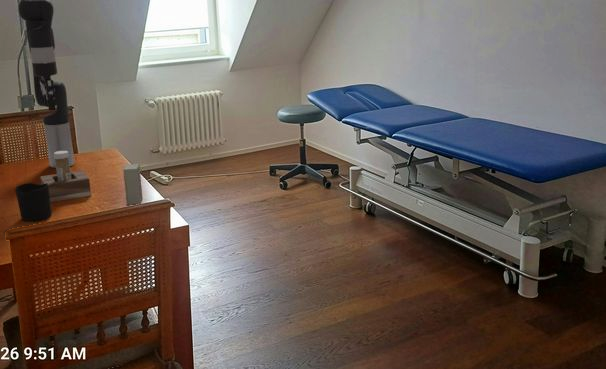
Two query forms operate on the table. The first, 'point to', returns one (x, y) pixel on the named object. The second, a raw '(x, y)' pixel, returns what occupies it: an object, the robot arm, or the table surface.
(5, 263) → the table surface
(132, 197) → the skincare box
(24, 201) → the pen holder
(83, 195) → the socket block
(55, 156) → the sprinkles bottle
